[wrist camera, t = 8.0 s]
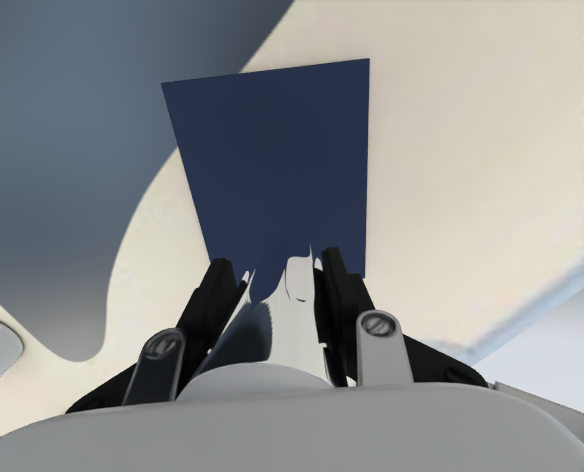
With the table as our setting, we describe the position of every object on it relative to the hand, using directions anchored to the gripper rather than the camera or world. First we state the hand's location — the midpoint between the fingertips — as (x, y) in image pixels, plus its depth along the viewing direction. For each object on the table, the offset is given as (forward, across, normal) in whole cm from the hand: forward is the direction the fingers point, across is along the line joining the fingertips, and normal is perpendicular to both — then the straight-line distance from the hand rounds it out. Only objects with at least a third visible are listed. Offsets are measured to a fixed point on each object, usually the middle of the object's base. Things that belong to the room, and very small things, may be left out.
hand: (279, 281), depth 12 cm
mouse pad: (+14, 0, 0) cm, 14 cm away
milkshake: (+2, 0, 0) cm, 2 cm away
